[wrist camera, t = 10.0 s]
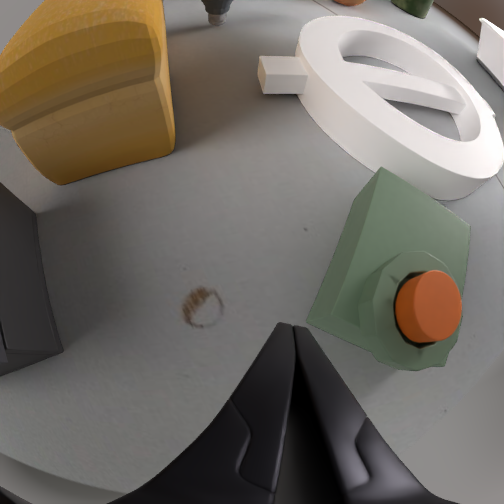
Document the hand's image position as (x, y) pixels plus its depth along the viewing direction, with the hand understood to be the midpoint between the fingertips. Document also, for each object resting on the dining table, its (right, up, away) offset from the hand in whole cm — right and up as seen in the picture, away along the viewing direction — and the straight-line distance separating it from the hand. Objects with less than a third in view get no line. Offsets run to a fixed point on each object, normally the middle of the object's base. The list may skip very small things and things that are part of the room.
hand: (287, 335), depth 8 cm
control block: (+9, 0, +13) cm, 16 cm away
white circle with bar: (+17, +21, +21) cm, 34 cm away
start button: (+8, -1, +5) cm, 10 cm away
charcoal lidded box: (-23, -2, +10) cm, 25 cm away
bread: (-16, +21, +18) cm, 31 cm away
